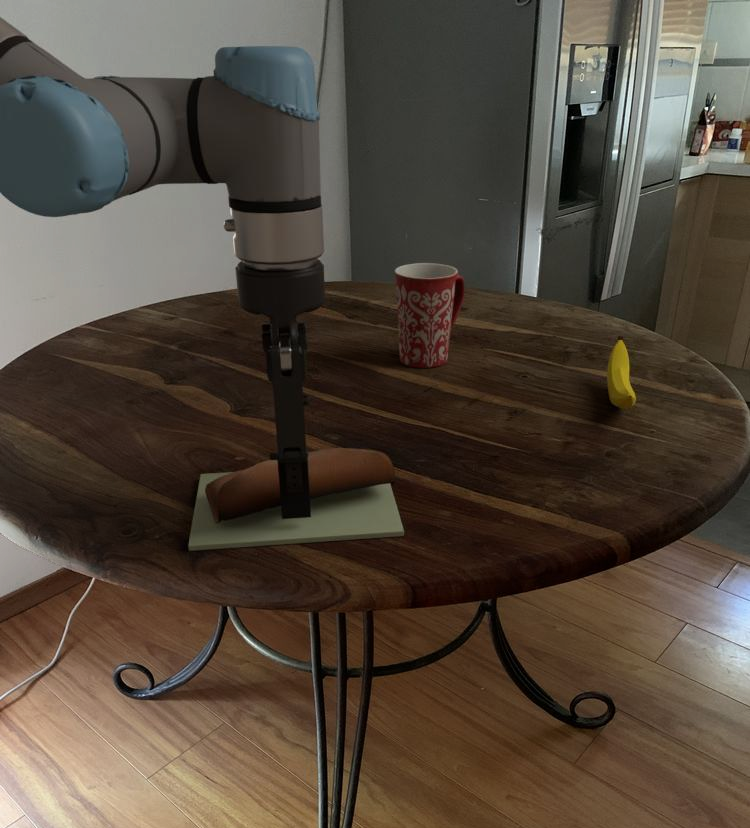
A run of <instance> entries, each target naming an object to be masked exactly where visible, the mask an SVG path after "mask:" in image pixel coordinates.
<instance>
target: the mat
mask: <svg viewBox="0 0 750 828" xmlns="http://www.w3.org/2000/svg"><path fill="white" fill-rule="evenodd" d="M233 472H234V471H230V472H213V473H211V472H210V473H201V474H200V476H199V480H198V481H199V482H198V488H197V493H196V498H195V505H194V511H193V516H192V521H191V528H190V533H189V538H188V540H189V541H188V545H187V548H188V551H189V552H193V551H194V552H195V551H206V550H222V549H224V550H225V549H237V548H251V547H253V548H254V547H266V546H282V545H295V544H307V543H308V544H310V543H323V542H324V543H325V542H337V541H338V542H339V541H352V540H353V541H354V540H366V539H367V540H368V539H381V538H395V537H404V536H405V530H404V527H403V526H404V525H403V523H402V520H401V519H402V518H401V516H400V513H399V509H398V505H397V503H396V498H395V495H394V491H393V489H392V485H391V484H390V483H389V484H381V485H376V486H371V487H366V488H361V489H356V490H352V491H347V492H343V493H335V494H329V495H326V496H322V497H318V498H314V499H310V508H311V517H307V518H292V519H282V511H281V506H278V507H275V508H267V509H265V510H263V511H261V512H256V513H252V514H249V515H246V516H243V517H238V518H235V519H231V520H227V521H223V520H222V521H221V522H219V523H218V524H216V522H215V520H214V517H213V514H212V511H211V508H210V505H209V502H208V499H207V496H206V492H205V488H206V485H207V484H208V483H210V482H211V481H213V480H215V479H217V478H219V477H221V476H224V475H227V474H230V473H233Z"/></svg>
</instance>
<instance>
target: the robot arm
mask: <svg viewBox="0 0 750 828" xmlns="http://www.w3.org/2000/svg"><path fill="white" fill-rule="evenodd" d="M214 66H215V67H214V69H213V75H209V76H205V77H204V76H203V77H200V76H199V77H196V78H190V77H189V78H186V77H185V78H184V77H183V78H182V77H181V78H180V77H148V76H147V77H145V76H144V77H136V76H134V77H132V76H129V77H128V76H118V75H110V76H108V75H107V76H105V75H100V76H95V77H93V78H92V77H91V78H88V77H87V78H86V77H85V76H82V75H81V74H79V73H78V72H76V71H75V70H73V69H72V68H70V67H69V66H68V65H66V64H65V63H63V62H62V61H61V60H59V59H58V58H57V57H55V56H54V55H53V54H51V53H50V52H48V51H47V50H46V49H44V48H43V47H41V46H40V45H38V44H37V43H35V42H34V41H33V40H31V39H30V38H28V36H27V35H26V34H24V33H23V32H22V31H21V30H19V29H18V28H16V27H15V26H13V25H12V24H11V23H9V22H8V21H7V20H5V19H4V18H2V17H1V16H0V194H1V195H2V196H3V197H4V198H5V199H6V200H8V201H9V202H10V203H12V204H13V205H14V206H16V207H18V208H19V209H22V210H23V211H25V212H27V213H30V214H33V215H35V216H40V217H46V218H62V217H69V216H75V215H76V216H77V215H81V214H88V213H89V214H90V213H92V212H97V211H99V210H102V209H103V208H104V207H105V206H108V205H110V204H111V203H112V202H115V201H117V200H120V199H122V198H124V197H127V196H132V195H134V194H137V193H140V192H142V191H145V190H147V189H150V188H153V187H155V186H158V185H178V184H179V185H185V184H186V185H187V184H190V185H192V184H195V185H196V184H207V185H218V184H225V185H226V189H227V193H228V197H227V198H228V199H227V200H228V207H229V208H230V216H231V218H229V219H225V220H224V222H223V229H224V231H225V232H229V233H232V232H234V234H233V236H232V243H233V253H234V256H235V257H236V258H237V259H238V260H240V261H239V262H238V264H237V265H236V266H235V268H234V269H235V280H236V281H235V282H236V291H237V302H238V305H239V306H240V307H241V309H243V310H244V311H245V312H247V313H250V314H252V315H257V316H259V315H263V316H266V317H268V318H269V323H267V322H266V323H261V344H262V350H263V352H264V353H265V360H266V361H265V363H266V375H267V376H266V377H267V379H268V381H269V382H270V383H272V390H273V391H272V392H273V403H274V404H273V405H274V417H275V418H274V419H275V431H276V446H277V450H276V452H271V453H270V452H269V460H277V461H278V473H279V486H280V499H281V511H282V519H292V518H307V517H311V508H310V491H309V473H308V452H309V450H308V448H307V441H306V440H307V439H306V438H307V437H306V423H305V406H306V407H307V406H309V405H310V404H309V395H308V394H304V392H303V391H304V390H303V389H304V388H303V382H304V381H306V379H307V373H308V371H307V358H306V352H307V350H308V345H309V343H308V331H307V327H306V326H307V325H306V321H298V320H297V317H298V316H299V315H301V314H304V313H306V314H308V313H311V312H314V311H317V310H318V309H320V308H322V306H324V303H325V301H326V285H325V265H324V264H323V262H322V261H321V260H320V259H319V258H321V257H322V256H323V255H324V252H325V241H324V240H325V238H324V217H323V213H324V212H323V203H322V195H321V194H322V192H321V191H322V190H321V151H320V149H321V147H320V120H321V116H320V115H321V114H320V112H319V110H318V100H317V99H318V98H317V89H316V77H315V76H316V75H315V64H314V60H313V58H312V56H310V54H309V52H307V50H305V49H303V48H301V47H299V46H285V45H284V46H283V45H282V46H281V45H280V46H279V45H250V46H249V45H247V46H245V45H244V46H223V47H220V48H218V50H217V51H216V53H215V55H214Z"/></svg>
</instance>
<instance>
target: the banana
mask: <svg viewBox="0 0 750 828" xmlns="http://www.w3.org/2000/svg"><path fill="white" fill-rule="evenodd" d="M624 339H625V337H624V336H623V335H618V336H617V342H616V344H615V345H614V346H613V348H612V350H611V351H610V354H609V355H610V356H609V359H608V364H607V374H606V375H607V376H606V380H607V392H608V397H609V400H610V403H611V404H612V405H613V406H615V407H617V408H618V409H621V410H626V409H631V408H633V406H634V405H635V404H636V401H637V398H636V397H637V396H636V393H635V391H634V390H633V387H632V385H631V382H630V358H629V353H628V349H627V347H626V345H625V342H624V341H623V340H624Z"/></svg>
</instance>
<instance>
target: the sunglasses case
mask: <svg viewBox="0 0 750 828" xmlns="http://www.w3.org/2000/svg"><path fill="white" fill-rule="evenodd" d="M232 472H233V473H230V474H227V475H224V476H221V477H219V478H217V479H215V480H213V481H211V482H210V483H208V484H207V485H206V488H205V492H206V496H207V499H208V502H209V505H210V508H211V511H212V514H213V517H214V520H215V522H216V524H218V523H219V522H221V521H222V520H223V521H227V520H231V519H235V518H238V517H243V516H246V515H249V514H252V513H256V512H261V511H263V510H265V509H267V508H275V507H278V506H281V499H280V486H279V473H278V461H277V460H270V459H267V460H264V461H261V462H258V463H256V464H254V465H253V466H252V465H251V466H250V467H246V468H244V469H240V470H237V471H232ZM308 473H309V491H310V499H314V498H318V497H322V496H326V495H329V494H335V493H343V492H347V491H352V490H356V489H361V488H366V487H371V486H376V485H381V484H389V483H390V485H391V486H394V484H395V483H396V481H395V480H396V472H395V467H394V465H393V462H392V460H391V458H390V457H389V456H388V455H387V454H386V453H384V452H383V451H379V450H373V449H366V448H365V449H364V448H353V447H345V448H344V447H340V448H339V447H337V448H325V449H320V450H315V451H314V450H313V451H308Z"/></svg>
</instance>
